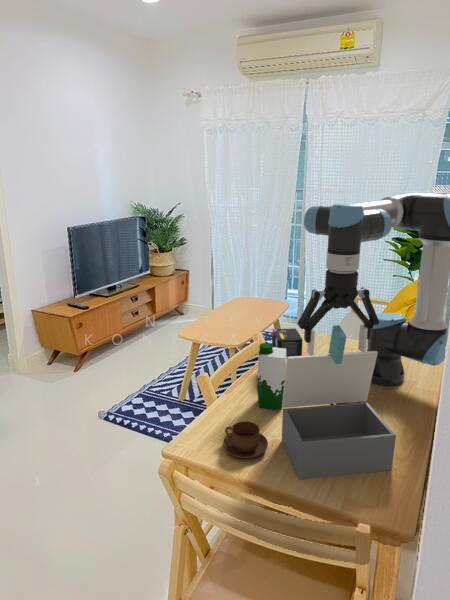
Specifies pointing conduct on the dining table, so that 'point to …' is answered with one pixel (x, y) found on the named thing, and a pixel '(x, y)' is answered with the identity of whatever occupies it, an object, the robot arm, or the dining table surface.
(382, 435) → the carton
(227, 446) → the cup and saucer
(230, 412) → the dining table surface
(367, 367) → the carton lid
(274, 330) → the tampon box
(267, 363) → the milk carton
